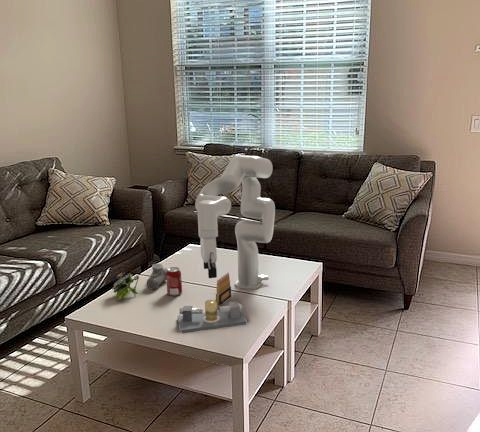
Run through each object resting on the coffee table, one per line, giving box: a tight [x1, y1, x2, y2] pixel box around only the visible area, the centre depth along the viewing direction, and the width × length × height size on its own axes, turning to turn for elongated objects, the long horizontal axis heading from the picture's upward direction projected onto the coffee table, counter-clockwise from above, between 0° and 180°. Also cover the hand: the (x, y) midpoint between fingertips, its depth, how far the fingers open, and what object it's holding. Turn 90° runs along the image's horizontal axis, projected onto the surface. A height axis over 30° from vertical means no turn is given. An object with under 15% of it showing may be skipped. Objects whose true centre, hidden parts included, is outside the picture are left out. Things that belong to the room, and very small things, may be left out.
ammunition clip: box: [215, 272, 232, 307], centre depth 223 cm, size 11×2×12 cm, turn 152°
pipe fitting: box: [146, 263, 168, 290], centre depth 242 cm, size 12×8×10 cm, turn 163°
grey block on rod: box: [179, 305, 204, 322], centre depth 205 cm, size 9×4×5 cm, turn 89°
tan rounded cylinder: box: [204, 299, 218, 321], centre depth 205 cm, size 5×5×7 cm
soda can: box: [166, 266, 183, 297], centre depth 232 cm, size 7×7×12 cm
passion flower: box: [111, 272, 140, 301], centre depth 231 cm, size 13×12×14 cm
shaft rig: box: [177, 301, 247, 334], centre depth 205 cm, size 26×12×6 cm, turn 104°
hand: (210, 272), depth 202 cm, fingers open, 9 cm apart
